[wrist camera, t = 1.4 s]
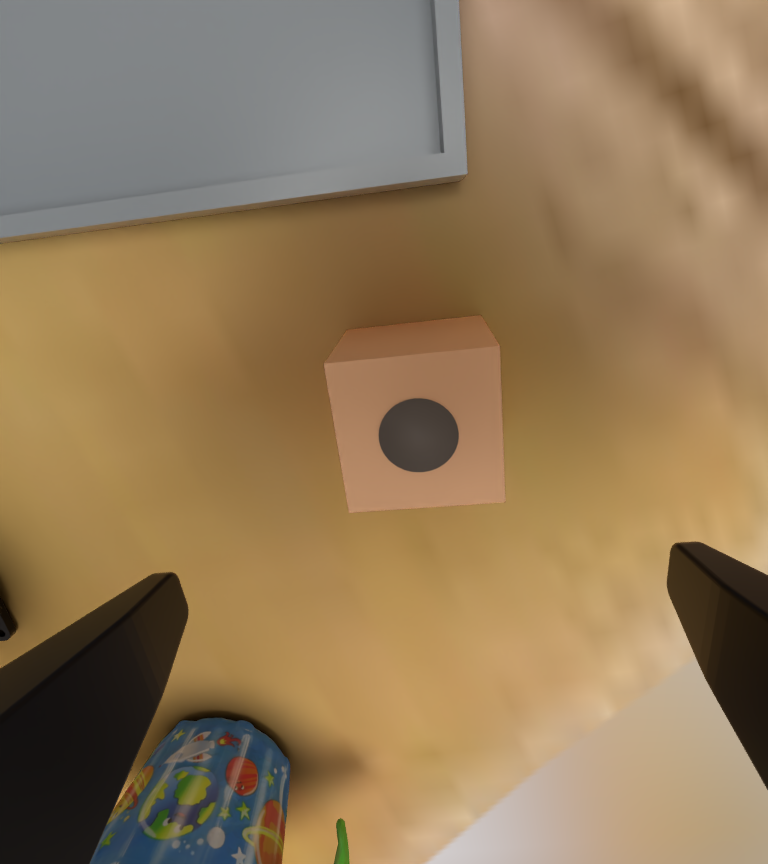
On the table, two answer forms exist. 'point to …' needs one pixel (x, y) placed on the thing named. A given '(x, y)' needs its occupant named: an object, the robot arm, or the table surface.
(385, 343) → the bored block
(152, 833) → the snack cup
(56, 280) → the table surface
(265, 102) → the tray
